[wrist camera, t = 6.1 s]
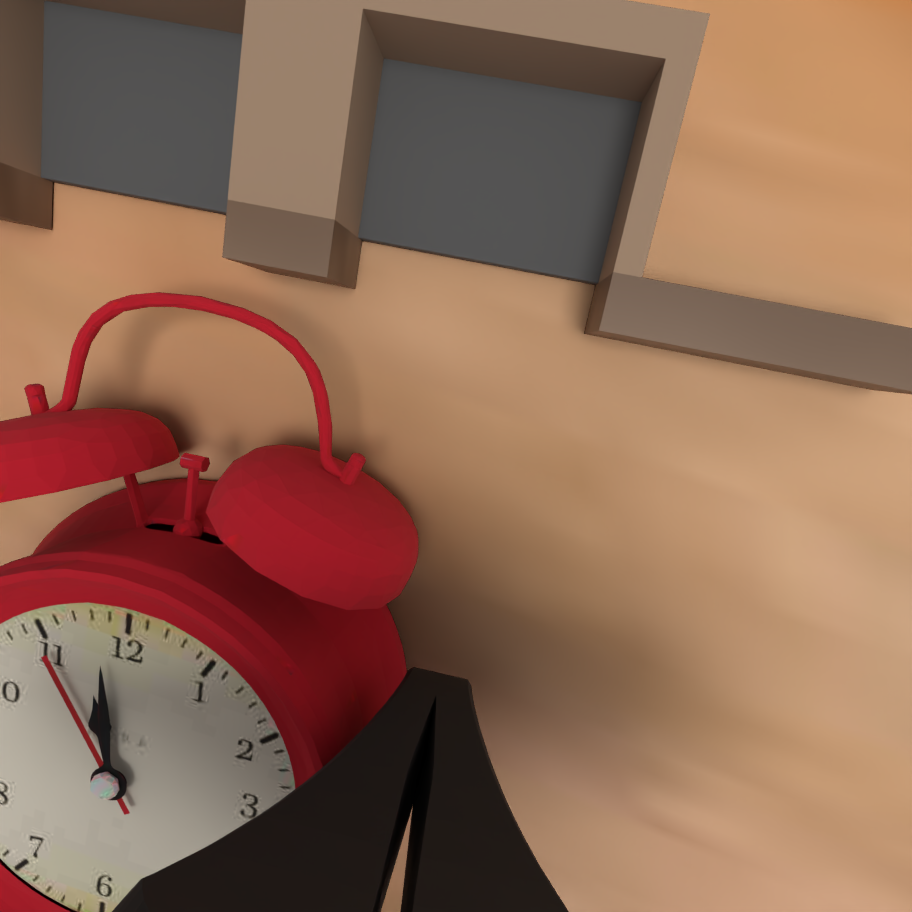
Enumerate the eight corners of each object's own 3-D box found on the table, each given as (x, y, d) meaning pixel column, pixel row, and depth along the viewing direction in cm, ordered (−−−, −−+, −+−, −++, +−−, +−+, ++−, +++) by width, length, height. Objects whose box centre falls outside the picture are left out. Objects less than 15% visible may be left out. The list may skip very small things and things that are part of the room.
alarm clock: (-117, 953, 12) (-544, 262, 5) (94, 717, 18) (4, 242, 11) (324, 1079, 11) (421, 472, 5) (394, 792, 17) (482, 338, 11)
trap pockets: (619, 289, 11) (642, 277, 9) (30, 177, 11) (-56, 145, 10) (674, 73, 10) (709, 13, 8) (34, -34, 11) (-60, -111, 9)
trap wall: (641, 1027, 14) (668, 1164, 12) (-58, 843, 16) (-163, 934, 13) (892, 341, 10) (1009, 337, 8) (-75, 157, 12) (-230, 106, 9)
